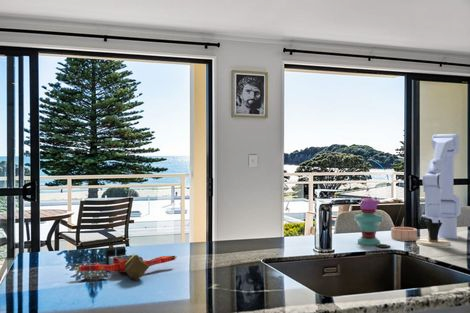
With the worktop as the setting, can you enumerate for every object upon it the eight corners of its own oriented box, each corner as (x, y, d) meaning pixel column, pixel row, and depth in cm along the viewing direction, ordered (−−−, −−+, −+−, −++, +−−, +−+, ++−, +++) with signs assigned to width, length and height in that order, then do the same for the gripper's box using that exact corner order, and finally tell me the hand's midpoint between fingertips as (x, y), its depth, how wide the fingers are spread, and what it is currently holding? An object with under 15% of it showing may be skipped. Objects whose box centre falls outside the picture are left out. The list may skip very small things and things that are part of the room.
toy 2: (386, 242, 182) (385, 198, 182) (378, 247, 172) (378, 200, 173) (359, 240, 187) (359, 196, 187) (351, 244, 178) (350, 199, 178)
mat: (415, 241, 183) (415, 240, 183) (447, 243, 180) (447, 241, 180) (418, 247, 172) (418, 246, 172) (452, 249, 168) (452, 247, 168)
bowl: (390, 237, 195) (390, 226, 195) (415, 238, 192) (415, 227, 192) (391, 241, 185) (391, 230, 185) (418, 242, 182) (418, 231, 182)
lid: (415, 240, 183) (415, 228, 183) (447, 241, 180) (447, 229, 180) (418, 246, 172) (418, 233, 172) (452, 247, 168) (452, 234, 168)
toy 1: (67, 276, 145) (82, 290, 119) (66, 251, 146) (81, 260, 119) (160, 265, 159) (191, 275, 133) (159, 242, 160) (190, 249, 133)
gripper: (419, 202, 184) (420, 235, 184) (423, 205, 170) (424, 241, 170) (438, 202, 182) (439, 236, 182) (444, 206, 168) (444, 242, 168)
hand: (433, 239), depth 176 cm, fingers closed on lid, 3 cm apart
